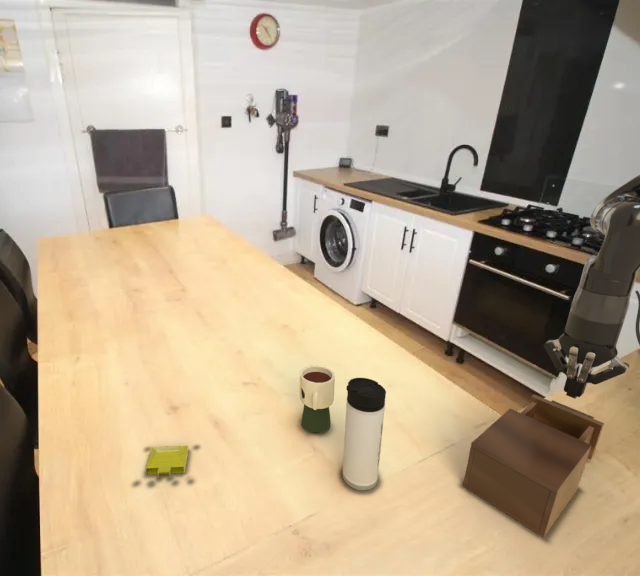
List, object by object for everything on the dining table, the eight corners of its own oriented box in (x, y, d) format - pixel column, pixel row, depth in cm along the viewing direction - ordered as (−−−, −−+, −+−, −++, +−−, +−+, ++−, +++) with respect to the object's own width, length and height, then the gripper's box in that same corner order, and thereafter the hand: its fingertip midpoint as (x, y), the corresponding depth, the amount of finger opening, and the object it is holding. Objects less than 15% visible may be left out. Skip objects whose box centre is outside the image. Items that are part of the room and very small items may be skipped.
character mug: (301, 408, 94) (302, 359, 89) (333, 411, 92) (335, 361, 88) (296, 441, 84) (296, 387, 79) (331, 445, 82) (333, 391, 78)
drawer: (535, 416, 88) (543, 385, 85) (601, 445, 79) (612, 412, 76) (495, 455, 77) (503, 422, 75) (566, 494, 69) (577, 458, 66)
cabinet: (500, 448, 80) (510, 408, 77) (577, 489, 71) (591, 445, 68) (462, 486, 72) (471, 442, 69) (543, 537, 63) (558, 490, 59)
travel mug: (334, 469, 77) (339, 378, 70) (365, 461, 78) (372, 370, 71) (351, 495, 71) (358, 399, 64) (384, 485, 73) (394, 390, 66)
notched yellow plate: (196, 446, 83) (195, 435, 82) (190, 482, 75) (189, 470, 74) (147, 448, 83) (145, 437, 82) (136, 484, 75) (134, 472, 74)
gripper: (652, 319, 69) (621, 404, 75) (561, 297, 79) (540, 374, 85) (640, 332, 65) (609, 421, 71) (546, 306, 75) (525, 387, 81)
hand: (572, 395), depth 78 cm, fingers closed
